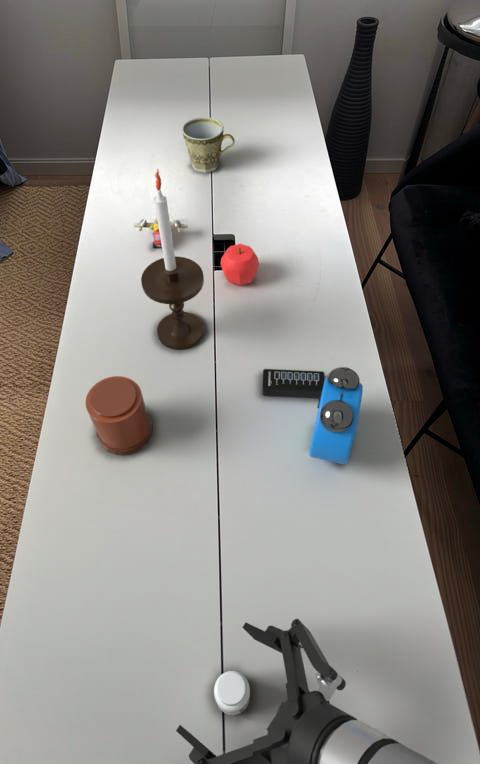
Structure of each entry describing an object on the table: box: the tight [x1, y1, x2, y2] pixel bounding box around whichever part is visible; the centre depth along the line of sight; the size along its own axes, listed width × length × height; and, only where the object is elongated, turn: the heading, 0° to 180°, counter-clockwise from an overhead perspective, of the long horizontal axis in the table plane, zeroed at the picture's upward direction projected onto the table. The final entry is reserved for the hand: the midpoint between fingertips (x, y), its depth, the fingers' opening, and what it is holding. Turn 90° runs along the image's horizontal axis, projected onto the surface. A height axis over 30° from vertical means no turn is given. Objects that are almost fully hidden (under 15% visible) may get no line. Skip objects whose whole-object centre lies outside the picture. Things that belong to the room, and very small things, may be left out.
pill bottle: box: [213, 670, 251, 716], centre depth 68 cm, size 4×4×8 cm
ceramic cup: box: [181, 116, 236, 174], centre depth 135 cm, size 13×10×10 cm
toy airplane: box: [133, 214, 188, 249], centre depth 121 cm, size 9×9×6 cm
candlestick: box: [140, 168, 205, 351], centre depth 93 cm, size 11×11×35 cm
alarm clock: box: [309, 366, 364, 465], centre depth 86 cm, size 13×6×15 cm, turn 165°
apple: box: [220, 243, 260, 286], centre depth 112 cm, size 8×8×8 cm
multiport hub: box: [261, 368, 326, 400], centre depth 98 cm, size 4×11×2 cm, turn 86°
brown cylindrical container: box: [85, 375, 154, 456], centre depth 90 cm, size 9×9×11 cm
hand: (218, 679), depth 67 cm, fingers open, 13 cm apart
